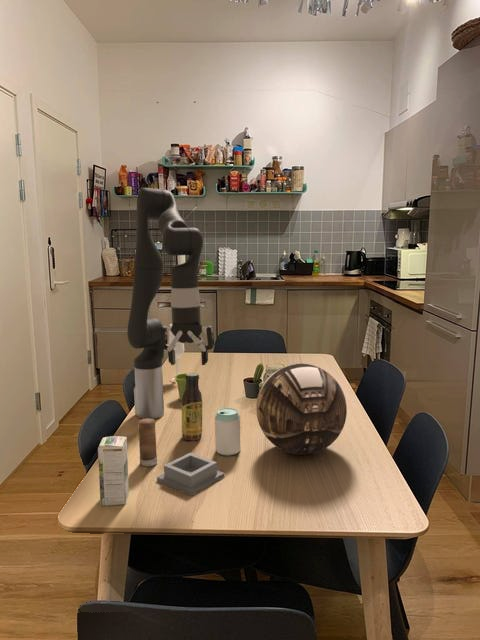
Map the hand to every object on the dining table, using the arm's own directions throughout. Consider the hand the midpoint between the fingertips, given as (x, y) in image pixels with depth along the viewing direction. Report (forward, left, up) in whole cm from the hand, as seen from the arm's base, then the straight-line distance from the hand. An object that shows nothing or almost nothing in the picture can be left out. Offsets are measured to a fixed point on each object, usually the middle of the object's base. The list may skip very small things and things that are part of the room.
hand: (188, 364), depth 135 cm
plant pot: (-36, +35, -27) cm, 57 cm away
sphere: (+22, +22, -27) cm, 41 cm away
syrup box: (+2, -27, -27) cm, 38 cm away
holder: (+9, -9, -26) cm, 29 cm away
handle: (-6, -10, -27) cm, 29 cm away
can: (+6, +9, -27) cm, 29 cm away
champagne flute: (-56, +49, -27) cm, 79 cm away
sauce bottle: (-9, +10, -27) cm, 30 cm away
